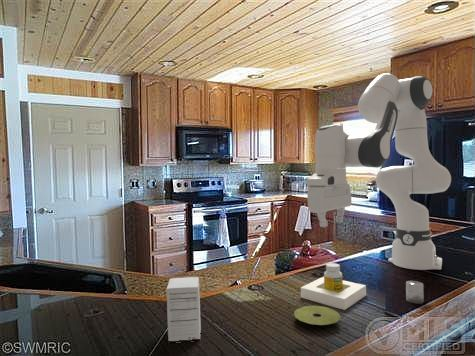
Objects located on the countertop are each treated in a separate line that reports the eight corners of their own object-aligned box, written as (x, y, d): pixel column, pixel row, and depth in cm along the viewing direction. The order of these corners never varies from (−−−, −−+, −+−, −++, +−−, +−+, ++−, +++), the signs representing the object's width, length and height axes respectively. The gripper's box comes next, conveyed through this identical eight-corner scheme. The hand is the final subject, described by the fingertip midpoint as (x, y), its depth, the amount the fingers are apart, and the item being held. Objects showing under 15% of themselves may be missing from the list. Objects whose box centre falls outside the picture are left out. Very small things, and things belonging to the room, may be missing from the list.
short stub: (409, 296, 97) (408, 279, 97) (425, 300, 94) (425, 282, 94) (404, 300, 94) (403, 283, 94) (421, 304, 91) (420, 287, 91)
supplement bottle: (332, 292, 102) (332, 261, 102) (346, 297, 98) (346, 265, 98) (320, 295, 99) (319, 264, 99) (334, 301, 95) (333, 268, 95)
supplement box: (171, 328, 81) (169, 277, 81) (201, 326, 82) (199, 276, 82) (167, 343, 74) (165, 288, 74) (200, 341, 74) (198, 286, 74)
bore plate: (324, 285, 109) (324, 276, 109) (366, 295, 99) (366, 285, 99) (300, 297, 99) (300, 287, 99) (344, 310, 89) (344, 299, 89)
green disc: (286, 317, 86) (286, 309, 86) (322, 309, 90) (322, 302, 90) (310, 336, 75) (310, 328, 75) (350, 327, 79) (349, 319, 79)
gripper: (337, 177, 108) (338, 219, 108) (303, 180, 93) (304, 228, 93) (356, 177, 103) (357, 220, 104) (322, 180, 89) (324, 230, 89)
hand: (331, 224), depth 98 cm, fingers open, 8 cm apart
